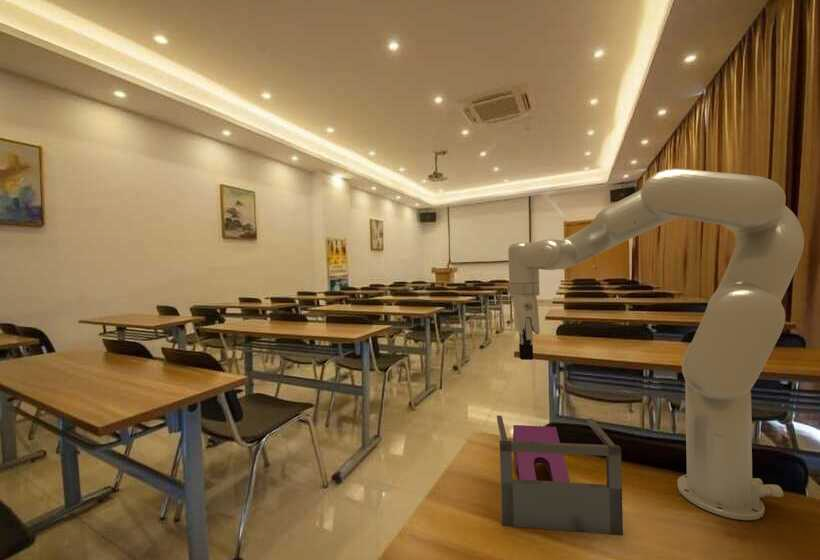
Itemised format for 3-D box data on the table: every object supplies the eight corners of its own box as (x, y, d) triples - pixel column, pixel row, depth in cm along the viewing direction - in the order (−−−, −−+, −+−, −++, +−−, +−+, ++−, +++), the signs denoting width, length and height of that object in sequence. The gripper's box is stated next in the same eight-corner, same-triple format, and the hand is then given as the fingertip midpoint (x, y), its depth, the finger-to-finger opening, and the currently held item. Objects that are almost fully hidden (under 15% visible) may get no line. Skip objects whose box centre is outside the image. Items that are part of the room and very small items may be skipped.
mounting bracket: (572, 533, 68) (553, 451, 83) (576, 508, 64) (556, 426, 80) (521, 528, 69) (512, 448, 85) (523, 503, 66) (513, 424, 81)
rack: (596, 491, 71) (595, 418, 71) (623, 535, 59) (621, 448, 59) (496, 484, 74) (494, 415, 74) (502, 525, 62) (499, 443, 62)
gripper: (545, 291, 83) (547, 366, 84) (533, 288, 98) (535, 352, 99) (513, 292, 85) (515, 366, 85) (506, 288, 99) (508, 352, 100)
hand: (526, 358), depth 92 cm, fingers closed
